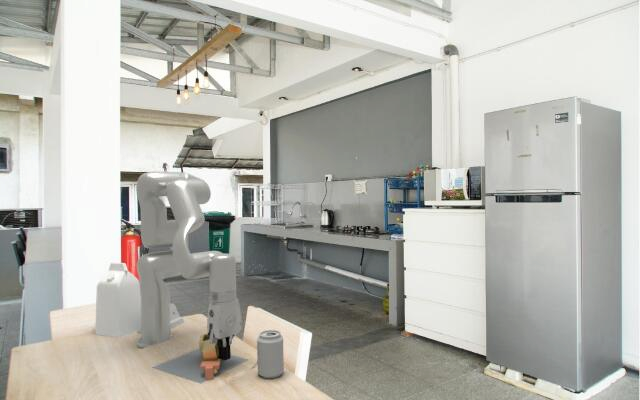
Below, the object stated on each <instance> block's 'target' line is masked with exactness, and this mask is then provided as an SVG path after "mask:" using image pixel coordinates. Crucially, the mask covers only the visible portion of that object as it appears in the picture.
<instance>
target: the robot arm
mask: <svg viewBox="0 0 640 400" xmlns="http://www.w3.org/2000/svg"><path fill="white" fill-rule="evenodd" d="M135 190H136V197H137V200H138V203H139V208H140V234H141V236H140V237H141V244H142V245H143V247H144V248H146V249H163V248H170V249H169V250H165V251H164V250H163V251H162V250H160V251H153V252H152V251H151V252H149V253H145V254H143V255H141V256H140V257H139V258H138V260H137V262H136V269H137V276H138V280H139V283H140V293H141V329H140V330H138V331H136V333H137V334H139V335H140V338H139V339H138V340H137V341H136V345H137V347H139V348H141V349H145V348H147V347H150V346H154V345H155V344H156V345H157V344H159V343H162V342H166V341H168V340H170V339H172V338H175V337H176V336H175V335H174V334H172V332H171V331H172V329H171V325H170V304H171V294H170V289H169V288H170V287H168V286H167V284H166V283H165V281H164V279H168V278H173V277H179V276H181V277H182V278H185V279H186V280H197V279H201V278H207V277H208V278H209V296H208V300H209V303H208V309H207V316H206V317H207V319H206V320H207V321H206V329H207V332H206V333H208V336H209V337H210V340H209V343H212V344H215V343H216V344H217V346H219V359H223V360H228V359H230V358H231V355H232V354H231V345H232V344H233V339H234V338H235V336H237V335H238V334H239V332H240V331H241V330H242V324H243V323H242V311H241V305H240V301H239V299H238V298H237V271H236V270H237V268H236V266H237V265H236V264H237V263H236V257H235V255H234V254H232V253H223V252H221V251H219V250H209V251H200V252H193V253H191V252H190V249H189V234H191V233H193V232H195V231H196V230H198V229H199V228H200V227H202V226H203V225H204V224H205V221H206V219H205V215H204V213H203V210H202V208H201V206H200V205H205V204H207V203H208V202H209V201H210V200H211V195H212V194H211V193H212V191H211V188H210V186H209V184H208V183H207V182H206V181H205V180H204V179H202V178H200V177H197V176H196V175H195V176H194V175H193V174H190V173H188V172H182V171H161V170H160V171H156V170H155V171H148V172H144V173H142V174H141V175H140V176H139V178H138V179H137V182H136V187H135ZM162 197H166V198H167V201H168V203H169V206H170V209H171V211H172V215H173V218H174V219H168V216H167V215H168V214H167V212H168V209H167V206H166V204H165V203H164V201H163V199H162Z"/></svg>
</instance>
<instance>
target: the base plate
mask: <svg viewBox="0 0 640 400" xmlns="http://www.w3.org/2000/svg"><path fill="white" fill-rule="evenodd" d="M247 361H249V359H248V358H244V357H240V356H237V355H232V354H231V358H230V359H228V360H223V359H220V367H219V369H218V370H217V373H215V374H213V375H214V377H213V378H215V377H216V376H218V375H221V374H224V373H225V372H226V371H230V369H233V368H235V367H237V366H238V365H241V364H243V363H245V362H247ZM202 362H203V361H202V356H201V351H200V347H199V348H196V349H194V350H192V351H189V352H187V353H185V354H184V353H183V354H182V355H179V356H177V357H174V358H172V359H169V360H167V361H164V362H161V363H160V364H157V365H155V366H153V367H152V369H154V370H159V371H161V372H164V373H168V374H170V375H174V376H176V377H179V378H183V379H186V380H189V381H192V382H195V383H199V384H203V383H204V382H207V381H208V380H205V370H200V366H201V363H202Z"/></svg>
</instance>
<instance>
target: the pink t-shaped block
mask: <svg viewBox="0 0 640 400" xmlns="http://www.w3.org/2000/svg"><path fill="white" fill-rule="evenodd" d="M219 367H220V361H205V362H202V363H201V366H200V370H205V380H207V381H209V380H211V381H212V380H213V379H214V378H215V377H214V375H213V369H219Z"/></svg>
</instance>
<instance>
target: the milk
mask: <svg viewBox="0 0 640 400" xmlns="http://www.w3.org/2000/svg"><path fill="white" fill-rule="evenodd" d="M95 303H96V305H95V326H94V327H95V330H94V332H95V333H94V334H95V335H96V334H99V335H98V336H103V335H105V337H111V338H116V339H117V338H119V339H121V338H124V337H126V336H128V335H131V334H133V333H135V332H136V333H137V331H138V330H140V329H141V291H140V281H139V278H137V277H136V276H135V275H134V274H133V273H132V272H131V271H129V269H128V266H127V264H126V263H125V262H110V264H109V268H108V270H107V271H106V273H105V274H104V275H103V276H102V278H101V279H100V280H99V281H98V283H97V285H96V302H95Z"/></svg>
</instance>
